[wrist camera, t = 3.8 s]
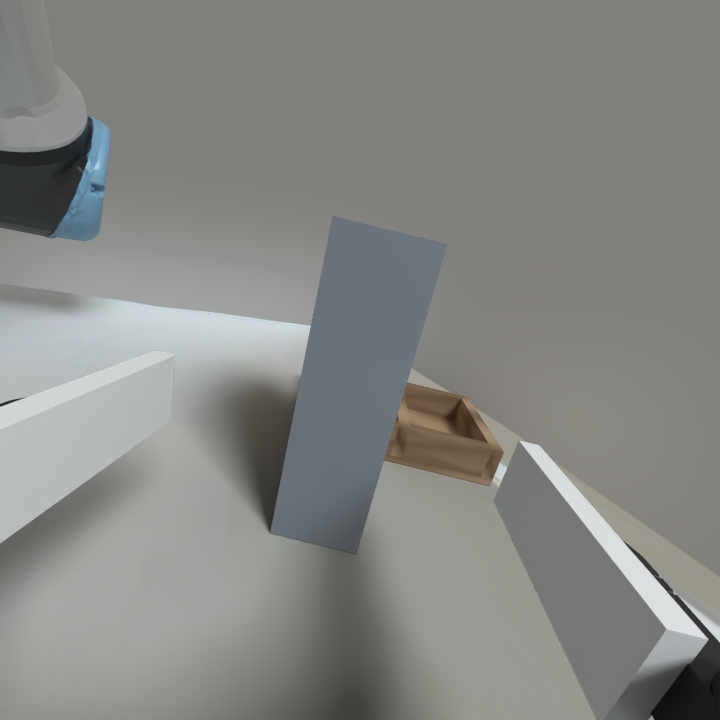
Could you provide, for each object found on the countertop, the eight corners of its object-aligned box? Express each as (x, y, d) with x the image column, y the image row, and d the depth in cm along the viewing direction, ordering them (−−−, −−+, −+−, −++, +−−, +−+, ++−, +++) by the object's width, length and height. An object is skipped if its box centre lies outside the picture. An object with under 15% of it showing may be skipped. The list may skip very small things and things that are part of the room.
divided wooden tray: (490, 485, 28) (508, 441, 27) (291, 437, 28) (300, 390, 27) (458, 422, 40) (470, 389, 39) (317, 387, 40) (325, 353, 39)
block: (356, 554, 19) (447, 244, 14) (270, 533, 19) (332, 215, 14) (363, 470, 26) (424, 252, 22) (302, 455, 26) (350, 234, 22)
